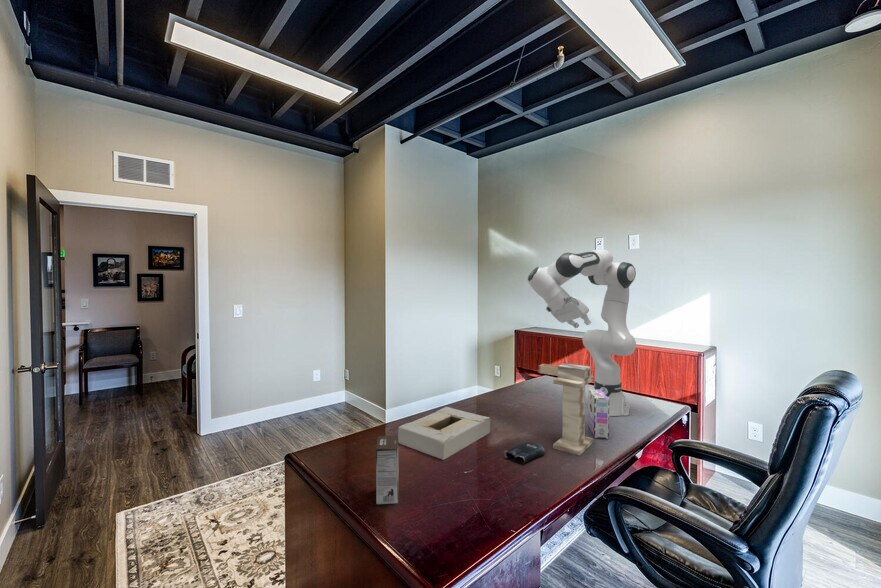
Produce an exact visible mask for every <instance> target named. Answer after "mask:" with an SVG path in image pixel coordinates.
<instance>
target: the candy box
mask: <svg viewBox="0 0 881 588" xmlns="http://www.w3.org/2000/svg"><path fill="white" fill-rule="evenodd" d="M587 392H588V393H587V394H588V397H587V398H588V404H587V409H588V417H587V419H588V420H587V421H588V428H589V430H590V432H591V434H592V436H593V438H595V439H605V440H609V439H610V436H609V435H610V432H609V431H610V416H609V398H608V397H607V395H606V394H605V393H604V392H603V391H602V390H600V389H595V388H588V391H587Z"/></svg>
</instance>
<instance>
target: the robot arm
mask: <svg viewBox="0 0 881 588" xmlns="http://www.w3.org/2000/svg"><path fill="white" fill-rule="evenodd" d="M636 273H637V272H636V268H635V266H634V265H633V264H632V263H630V262H626V261H623V262H620V261H619V262H617V261H614V258H613V255H612V253H611V252H610V251H609V250H607V249H601V248H600V249H593V250H590V251H589V250H588V251H584V252H581V253H574V252H573V253H572V252H564V253H562V254H561V255H560V256H559V257H558V258H557V259H556V260H554V261H553V262H552V263H550V265H547V266H544V267H541V266H537V267H535V268H534V269H533V270H532V271H531V272H530V273H529V275H528V276H527V282H528V284H529V286H530V287H531V288H532V290H534V292H535V293H536V294H537V295H538V296H539V297H541V298H542V299H543V300H544V302H545V303H546V304H547V305H546V308H545V310H546V311H547V312H548V313H550V314H551V315H552V316H553V317H554V318H555V319H556V320H557V321H558V322H560V323H561V324H564V323H567V324H568V325H570V326H572V327H573V328H574V329H578V328H579V326H580V324H579V323H578V322H576V321H574V320H576V319H581V320H583V323H584V324H585V325H586V326H590V325H591V324H592V321H591V320H590V319H589V317H588V313H589V312H590V309H589V307H588V306H587V305H586V304H585V303H584V302H582V301H581V300H580V299H579V298H577V297H573V296H571V295H570V294H569V293H568V292H567V291H566V290H565V289H564V288H563V287H562V285H564V284H565V283H567V282H568V281H570V280H572V279H573V278H574V277H576V276H577V275H579V274H581V275H582V276H584V277H587V279H588V281H589V282H590V284H592V285H596V286H607V287H606V291H605V294H604V297H603V304H602V307H601V313H600V318H601V319H602V320H603V321H604V322H605V323H606V324H607V326H608V327H607V330H604V329H598V328H597V329H590V330H587V331H585V332H584V333H583V336H582V344H583V346H584V348H585V349H586V350H587V351H588V352H589V354H590V356H591V358H592V360H593V364H594V374H595V375H594V380H593V381H594V384H593V385H594V386H593V389H600V390H602V391H603V392H604V393H605V394H606V395H607V397H608V398H609V417H619V416H624V417H626V416H630V415H629V414H630V410H631V405H630V404H628V403H626V395H625V394H624V392H623V391H622V390H623V389H622V388H623V387H622V385H623V382H622V381H621V366H620V365H619V363H617V362H616V361H615V360H614V358H612V357H613V356H612V355H614V356H620V357H621V356H622V357H625V356H631V355H632V354H633V353H634V352H635V350H636V347H637V341H636V340H635V337H634V336H633V335H632V334H631V333H630V331H629V329H628V327H627V313H628V308H629V302H630V286H631V284H632V283H633V282H634V280H635V279H636Z"/></svg>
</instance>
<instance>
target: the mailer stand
mask: <svg viewBox="0 0 881 588" xmlns="http://www.w3.org/2000/svg"><path fill="white" fill-rule="evenodd" d="M557 366H558V376H557V377H555V378H553V381H552V383H553V385H558V386H562V436H561V437H560V438H559V439H558V440H556V441H555V442H554V443H553V444H552V448H553V449H555V450H558V451H562V452H566V453H569V454H572V455H576V456H581V455H582V454H583V453H584V452H585V451H586V450H587V449H588V448H589V447H590V446H591V445H592V444H593V443H594V442H595V440H594V437H593V438H592V437H589V436H586V386H587V385H588V384H590V383H591V382H593V381H595V375H591V374H592V373H591V372H592V371H591V370H592V369H591V368H592V367H591V366H590V365H584V364H583V365H582V364H575V363H568V362H564V363H562V364H560V365H559V364H558V365H557ZM587 370H588V378H587V379H585V371H587Z"/></svg>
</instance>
